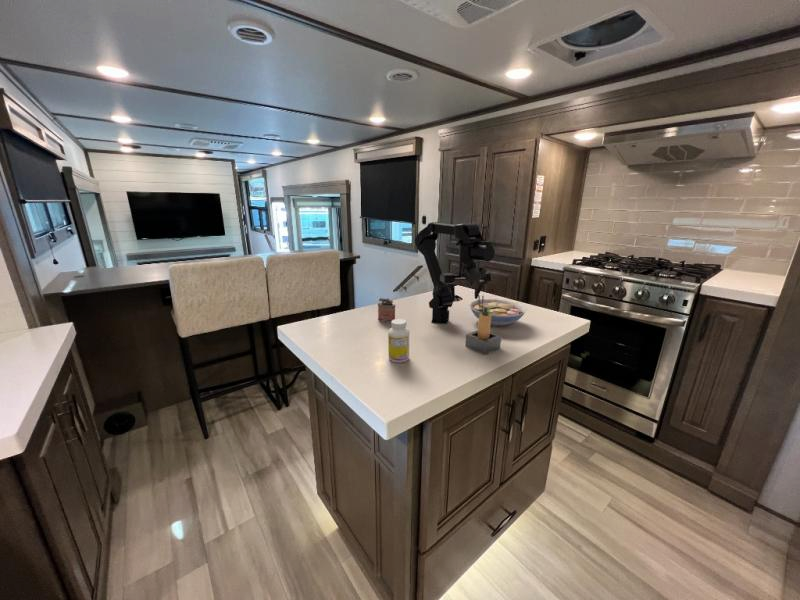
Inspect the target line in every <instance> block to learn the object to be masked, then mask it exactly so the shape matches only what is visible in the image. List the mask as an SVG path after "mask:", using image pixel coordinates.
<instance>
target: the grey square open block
mask: <svg viewBox="0 0 800 600" xmlns="http://www.w3.org/2000/svg"><path fill="white" fill-rule="evenodd" d="M477 335H478V329H477V330H474V331H472V332H469V333H466V335H465V347H466V348H468V349H471V350H473V351H475V352H478V353H480V354H482V355H484V356H486V355H488V354H490V353H492V351H493V352H495V351H497V350H499V349H501V345H502V344H501V343H502V336H501V335H499V334H496V333H493V332H492V331H490V336H489V339H487V340H483V339H481V338H478V337H477Z"/></svg>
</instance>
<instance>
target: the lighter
mask: <svg viewBox="0 0 800 600" xmlns="http://www.w3.org/2000/svg"><path fill="white" fill-rule="evenodd" d="M378 301H379V302H378V303H377V307H378V308H377V313H378V315H377V316H378V317H377V321H378V320H379V322H381V321H384V322H383V323H387V322H389V324H391V321H392V320H394V319H396V304H395V303H393V302H394V300H393V299H390V298H389V297H387V298H384V297H379V298H378Z"/></svg>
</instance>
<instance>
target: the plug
mask: <svg viewBox="0 0 800 600" xmlns="http://www.w3.org/2000/svg"><path fill="white" fill-rule="evenodd" d="M477 326H478V327H477V330H478V335H477V337H478V338H481V339H483V340H487V339H489V336H490V332H491V326H492V325H491V314H489V312H488V311H487V307H485V308H484V311H482V313H480V314H479V319H478V324H477Z"/></svg>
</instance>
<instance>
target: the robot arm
mask: <svg viewBox="0 0 800 600" xmlns="http://www.w3.org/2000/svg"><path fill="white" fill-rule="evenodd" d="M440 234H442V235H449V236H452V237H454V238H455V239H458V241H457V242H456V243H454V245H455V246H457V247H459V248H458V249H459V253H458V254H459V255H458V260H457V264H458V270H457V271H456V274H454V273H451V272H442V270H441V266H440V263H439V260H438V258H437V254H436V247H437V242H436V241H437V240H438V239H439V235H440ZM414 244H415V247H416V249H417V250H418V252H419V253H420V254H422V255H423V257H424V261H425V264H426V267H427V269H428V273H429V276H430V280H431V283H432V286H433V289H432V299H431V300H429V302H428V306H429V309H432V310H431V311H432V314H431V316H432V317H431V323H434V324H441V325H442V324H443V325H444V324H445V325H446V324H448V322H449V321H450V310H449V308H451V307H453V305H454V301H455V299H456V297H455V295H456V293H455V292H456V291H455V287H456V285H457V283H455V282H456V281H465V280H466V281H467V282H468V283H472V282H473V283H474V299H475V300H478V295H480V294H481V291H482V289H483V287H484V286H485V285H486V284H489V282H492V280H493V276H492V273H491V272H488V271H487V268H486V267H485V266H484V267H477V262H476V261H479V262H480V261H482V262H491V261H492V260H493V258H495V253H496V251H495V248H494V246H493V245H492V241H491V240H490V241H489V240H488V241H487V240H486V241H485V239H484V237H483V235H482V233H481V231H480V228H479V225H478V224H477V223H473V222H472V223H460V224H453V223H452V224H451V223H443V222H439V221H432V222H429V223H428V224H427V226H426V227H424V228H423V229H421V230H420V231H419V232H418V233H417V234H416V236H415V238H414Z"/></svg>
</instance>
